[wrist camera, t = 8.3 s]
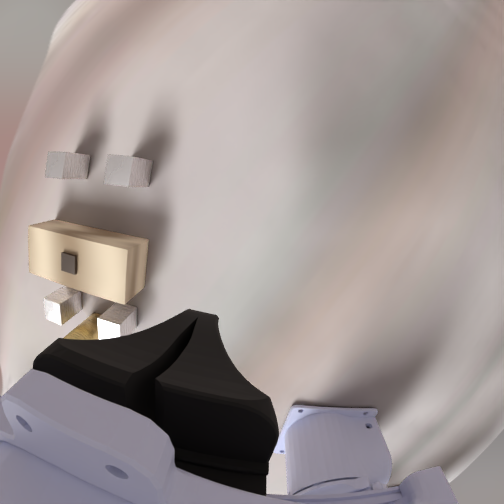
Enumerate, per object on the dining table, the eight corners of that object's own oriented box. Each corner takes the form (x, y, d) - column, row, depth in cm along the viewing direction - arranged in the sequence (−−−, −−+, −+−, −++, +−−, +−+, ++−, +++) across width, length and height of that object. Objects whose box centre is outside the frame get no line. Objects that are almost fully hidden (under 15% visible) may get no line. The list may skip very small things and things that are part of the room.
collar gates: (153, 160, 20) (133, 156, 16) (136, 327, 23) (120, 347, 19) (73, 154, 20) (48, 151, 16) (66, 304, 23) (45, 318, 19)
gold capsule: (109, 317, 23) (81, 343, 18) (110, 339, 23) (84, 367, 18) (88, 310, 23) (58, 333, 18) (89, 331, 23) (62, 357, 18)
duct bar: (150, 239, 21) (125, 250, 17) (145, 286, 22) (123, 306, 18) (57, 219, 21) (26, 226, 17) (55, 260, 22) (27, 273, 18)
